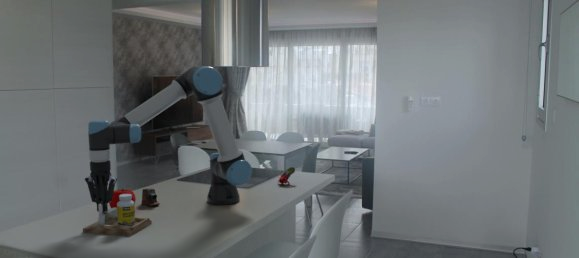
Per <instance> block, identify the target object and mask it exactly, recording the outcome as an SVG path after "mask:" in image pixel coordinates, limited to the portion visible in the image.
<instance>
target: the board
mask: <svg viewBox="0 0 579 258" xmlns="http://www.w3.org/2000/svg"><path fill="white" fill-rule="evenodd" d="M152 223H153V221H152V219H150V217H137V216H135V224H134V225H131V226H119V225H118V221H117V222H115V223H113V224H111V225H104V227H100V225H99V220H98V221H95V222H94V223H91V224H89V225H87V226H85V227H83V228H82V233H85V234H97V235H113V236H126V237H128V236H129V237H131V236H133V235H134V234H137V233H138V232H140V231H141V230H143V229H145V228H147V227H149V226H150V225H152Z"/></svg>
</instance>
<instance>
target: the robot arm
mask: <svg viewBox="0 0 579 258" xmlns="http://www.w3.org/2000/svg"><path fill="white" fill-rule="evenodd" d="M223 82H224V81H223V76H222V75H221V73H220V72H219V71H218V69H216V68H214V67H212V66H207V65H202V66H201V65H200V66H193V67H190V68H188V69H187V70H186V71H184V72H182V73H181V74H179V75H178V76H177V77H176V78H175V79H173V80H172V81H171V84H169V85H168V86H166V87H165V88H163V89H162V90H161V91H159V92H158V93H156V94H154V95H153V96H151V97H150V98H148V99H147V100H146V101H144V102H143V103H141V104H140V105H138V106H137V107H135V108H134V109H132V110H130V111H129V112H127V113H126V114H125V115H123V116H122V117H120V118H119V119H117V120H114V121H111V122H110V123H109V120H104V119H103V120H102V119H99V120H98V119H97V120H91V121H89V122H88V126H87V127H88V132H87V133H88V136H87V137H88V149H89V151H88V156H89V161H90V162H89V170H90V173H89V176H87V177H85V178H84V181H85V182H86V184H87V188H88V192H89V196H90V199H91V202H92V203H95V204H96V211H97V213H98V215H99V214H100V213H103V212H105V211H107V210H109V208H108V207H109V206H108V205H109V202H111V201H112V198H113V192H114V191H115V186H116V183H117V181H118V178H117V177H113V176H112V172H111V169H112V167H111V160H110V159H111V147H110V146H111V145H120V144H135V143H140V142H141V140H142V128H141V127H142V126H143V125H145V124H146V123H148V122H149V121H150V120H152V119H154V118H156V116H158V115H159V114H161V113H162V112H164V111H166V110H167V109H168V108H170V107H171V106H173V105H174V104H176V103H177V102H179V101H180V100H182V99H184V100H185V99H187V98H189V97H190V96H193V95H194V97H195V100H196V102H197V103H199V104H200V105H201V106H202V109H203V111H204V114H205V118H206V121H207V124H208V127H209V129H210V132H211V135H212V138H213V141H214V144H215V146H216V150H217V151H218V152H213V153H211V154H210V156H209V169H210V170H209V171H210V172H209V173H210V174H209V175H210V186H209V189H208V191H207V192H208V193H207V195H206V196H207V197H206V202H207V203H208V204H212V205H230V204H236V203H238V202H240V199H241V198H240V193H239V189H238V187H239V186H242V185H243V186H244V185H245V184H247V183H248V182H249V180H250V179H251V176H252V174H253V168H252V165H251V163H249V161H248V160H246V158H245V155H244V151H243V150H241V149H239V148H238V145H237V142H236V140H235V136H234V133H233V131H232V127H231V124H230V120H229V117H228V115H227V112H226V109H225V107H224V106H225V105H224V102H223V100H222V96H223V95H224V92H223V88H222V86H223Z"/></svg>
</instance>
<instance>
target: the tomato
mask: <svg viewBox="0 0 579 258" xmlns="http://www.w3.org/2000/svg"><path fill="white" fill-rule="evenodd" d="M122 194H131V195H132V199H131V200H132V201H133V202H134V204H135V205H136V199H137V198H136V194H135V193H134V191H133V190H131V189H127V188H126V189H124V188H122V189H116V190H115V189H114V192H113V198H112V201H111V202H109V203H108V205H109V208H110V209H111V208H117V203H118V202H119V201H120V199H119V195H122Z"/></svg>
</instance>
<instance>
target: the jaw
mask: <svg viewBox="0 0 579 258" xmlns="http://www.w3.org/2000/svg"><path fill="white" fill-rule="evenodd" d="M98 221H99V225H100V227H104V225H111V224H113V223H115V222H117V221H118V219H117V208H111V207H110V209H109V208H108V210H107V211H105V212H103V213H100V214H99V213H98Z"/></svg>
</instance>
